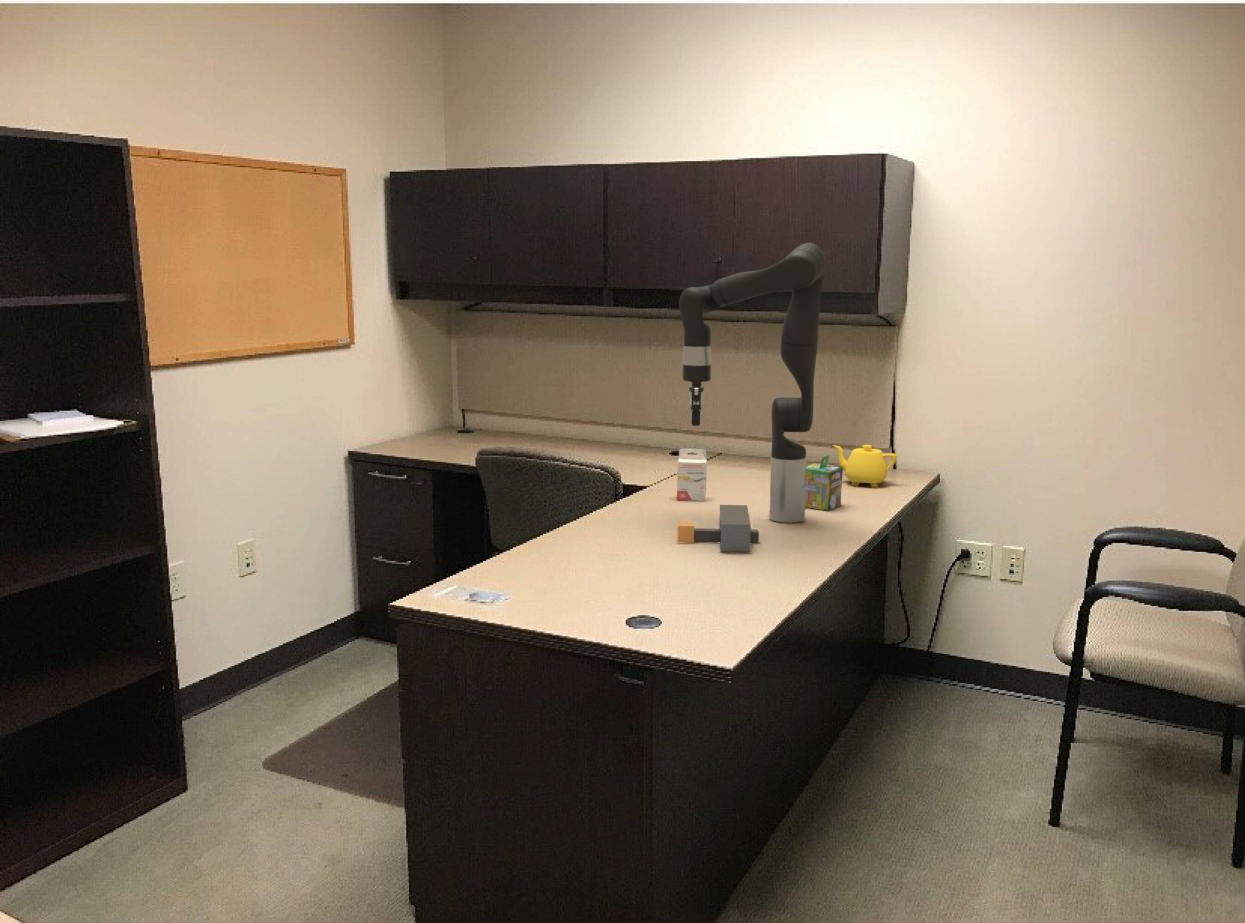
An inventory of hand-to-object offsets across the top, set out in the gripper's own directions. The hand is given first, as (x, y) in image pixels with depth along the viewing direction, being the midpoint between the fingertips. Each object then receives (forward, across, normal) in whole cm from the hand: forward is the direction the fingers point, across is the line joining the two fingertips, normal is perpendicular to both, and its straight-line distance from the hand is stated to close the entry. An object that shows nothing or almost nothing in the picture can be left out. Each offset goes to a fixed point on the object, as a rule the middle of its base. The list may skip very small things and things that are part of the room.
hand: (695, 423), depth 274 cm
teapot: (+26, +48, -53) cm, 76 cm away
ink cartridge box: (+26, +22, +1) cm, 34 cm away
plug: (+26, -24, -6) cm, 36 cm away
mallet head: (+26, -24, -10) cm, 37 cm away
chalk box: (+26, +16, -36) cm, 47 cm away
